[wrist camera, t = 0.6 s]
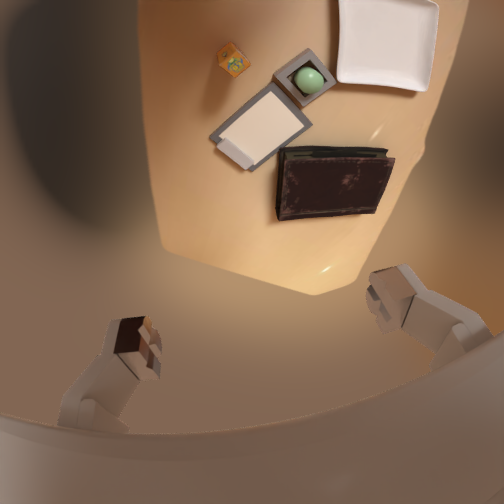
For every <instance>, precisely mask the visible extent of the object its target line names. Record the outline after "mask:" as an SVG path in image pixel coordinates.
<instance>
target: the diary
mask: <svg viewBox="0 0 504 504" xmlns="http://www.w3.org/2000/svg"><path fill="white" fill-rule="evenodd" d="M387 151H388V149H384V148H372V147H331V146H295V147H280V154H279V168H278V181H277V195H276V207H275V209H276V215H277V219H278V220H279V221H286V220H294V219H303V218H316V217H333V216H342V215H351V214H375V211H376V209H377V206H378V204H379V202H380V199H381V197H382V195H383V193H384V191H385V188H386V186H387V183H388V180H389V178H390V175H391V172H392V169H393V166H394V163H395V158H387V156H386V153H387Z"/></svg>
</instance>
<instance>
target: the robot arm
mask: <svg viewBox="0 0 504 504" xmlns="http://www.w3.org/2000/svg"><path fill="white" fill-rule="evenodd" d="M369 281H370V283H371V285H370V286H369V287H368V288H367V292H366V300H367V305H368V308H369V309H370V311H371V313H373V314H375V315H377V318H376V322H377V324H378V326H379V328H380V330H381V332H382V333H383V334H385V333H388V332H392V331H395V330H398V329H401V328H402V330H403V331H404V332H406V333H407V334H409V335H410V336H411V337H413V338H414V339H416V340H417V341H418V342H420V343H421V344H422V345H424V346H425V347H427V348H428V349H429V350H431V351H432V352H434V353H435V354H436V355H435V356H434V358H433V360H432V361H431V362H430V365H429V367H430V369H431V372H429V373H427V374H425V375H423V376H420V377H418V378H416V379H414V380H412V381H409V382H407V383H404V384H402V385H400V386H397V387H395V388H392V389H390V390H387V391H384V392H382V393H379V394H376V395H373V396H371V397H368V398H365V399H362V400H359V401H356V402H353V403H350V404H347V405H343V406H340V407H337V408H333V409H330V410H326V411H322V412H319V413H315V414H311V415H307V416H302V417H298V418H294V419H289V420H284V421H279V422H274V423H269V424H264V425H257V426H251V427H244V428H237V429H229V430H220V431H209V432H197V433H179V434H131V433H129V427H128V425H127V424H125V423H124V422H122V421H121V420H120V419H118V417H119V416H120V414H121V412H122V411H123V409H124V407H125V406H126V404H127V402H128V401H129V399H130V397H131V396H132V394H133V392H134V391H135V389H136V387H137V385H138V384H139V383H140V381H141V380H152V379H160V370H161V363H160V362H159V360H158V358H159V356H160V355H161V354H162V343H161V338H160V335H159V333H158V331H157V330H156V329H154V328H152V321H151V319H150V318H149V316H141V317H131V318H122V319H114V320H111V321H110V322H109V324H108V327H107V331H106V335H105V339H104V343H103V348H102V351H101V355H97V356H96V358H95V359H94V360H93V361H92V362H91V363H90V365H89V366H88V367H87V368H86V369H85V371H84V372H83V373H82V374H81V375H80V376H79V377H78V379H77V380H76V381H75V382H74V383H73V384H72V386H71V387H70V388H69V389H68V391H67V392H66V393H65V394H64V395H63V398H62V402H61V407H60V412H59V418H58V424H57V426H55V425H50V424H45V423H40V422H36V421H31V420H27V419H23V418H19V417H15V416H11V415H8V414H5V413H1V412H0V504H504V330H503V331H501V332H500V333H499V334H497V335H495V336H493V335H492V333H491V332H490V330H489V329H488V328H487V326H486V325H485V323H484V322H483V320H482V319H481V318H480V316H479V315H478V313H476V312H474V311H472V310H470V309H468V308H466V307H464V306H462V305H460V304H458V303H456V302H454V301H452V300H450V299H448V298H446V297H445V296H442V295H440V294H438V293H436V292H434V291H432V290H429V291H428V290H427V288H426V287H425V286H424V285H423V283H422V282H421V281H420V279H419V278H418V277H417V276H416V274H415V273H414V272H413V271H412V269H411V268H410V267H409V266H408V265H407V264H401V265H397V266H394V267H390V268H386V269H382V270H378V271H374V272H372V273H371V274H370V276H369Z"/></svg>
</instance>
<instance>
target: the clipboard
mask: <svg viewBox="0 0 504 504" xmlns="http://www.w3.org/2000/svg"><path fill="white" fill-rule="evenodd" d="M312 125H313V124H312V123H311V122H310V120H309V119H308V118H307V117H306V116H305V115H304V114H303V113H302V111H301V110H300V109H299V108H298V107H297V106H296V105H295V104H294V103H293V102H292V101H291V99H290V98H289V97H288V96H287V95H286V94H285V93H284V92H283V91H282V90H281V89H280V88H279V87H278V86H277V85H276V84H275V83H274V82H273V81H272V82H271V83H269V84H268V85H267V86H266V87H265V88H263V89H262V90H261V91H260V92H258V93H257V94H256V95H255V96H254V97H252V98H251V99H250V100H249V101H248V102H247V103H245V104H244V105H243V106H242V107H241V108H240V109H239V110H237V111H236V112H235V113H234V114H233V115H232V116H231V117H230V118H228V119H227V120H226V121H225V122H224V123H223V124H222V125H221V126H220V127H219V128H218V129H216V130H215V131H214V132H213V133H212V134H211V135H210V139H212V140H213V141H214V142H216V143H217V148H218V149H219V150H221V151H222V152H223V153H225V154H226V155H227V156H228V157H230V158H231V159H232V160H233V161H235V162H236V163H237V164H239V165H240V166H241V167H242V168H244V169H245V170H246V169H250V170H251V171H252V172H253V171H254V170H255V169H256V168H258V167H259V166H260V165H261V164H263V163H264V162H265V161H266V160H268V159H269V158H270V157H271V156H273V155H274V154H275V153H277V152H278V151H279V150H280V147H284V146H286V145H287V144H288V143H289V142H291V141H292V140H293V139H295V138H296V137H297V136H299V135H300V134H301V133H303V132H304V131H305V130H307V129H308V128H309V127H311V126H312Z"/></svg>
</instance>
